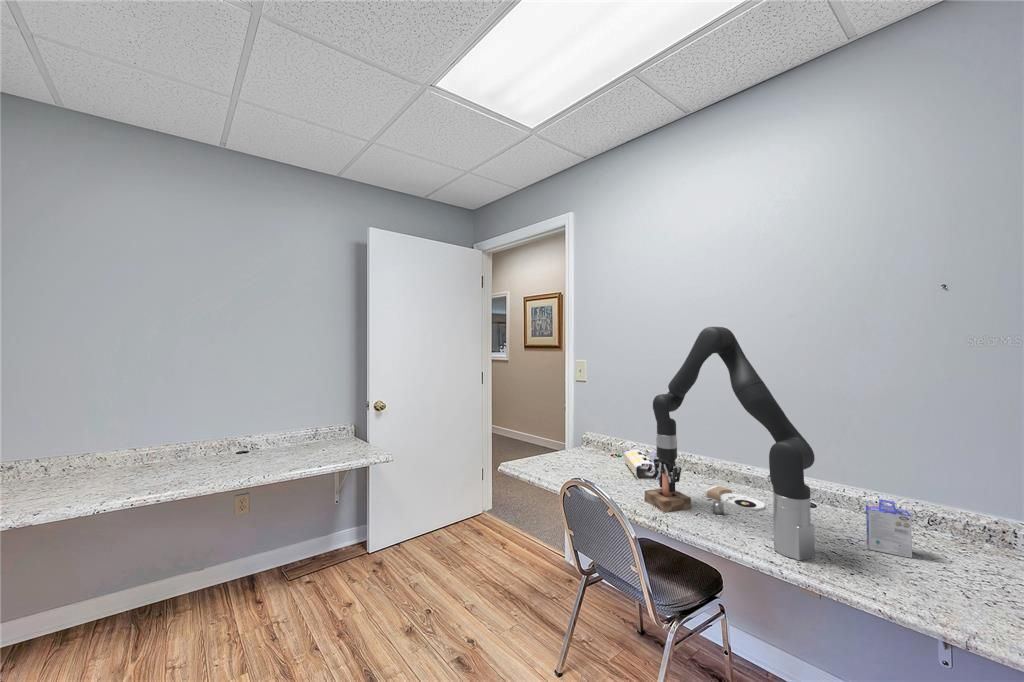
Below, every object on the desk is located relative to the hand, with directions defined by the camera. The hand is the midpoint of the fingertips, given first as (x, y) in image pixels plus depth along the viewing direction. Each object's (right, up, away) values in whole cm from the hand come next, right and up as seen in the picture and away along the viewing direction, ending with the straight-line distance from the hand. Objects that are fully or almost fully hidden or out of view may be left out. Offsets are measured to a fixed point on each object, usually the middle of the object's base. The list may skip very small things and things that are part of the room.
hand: (667, 489), depth 161 cm
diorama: (+2, -6, +41) cm, 42 cm away
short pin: (+15, -6, -9) cm, 19 cm away
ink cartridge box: (+53, -6, -36) cm, 64 cm away
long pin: (0, -6, 0) cm, 6 cm away
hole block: (0, -6, 0) cm, 6 cm away
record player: (+28, -6, +2) cm, 29 cm away
